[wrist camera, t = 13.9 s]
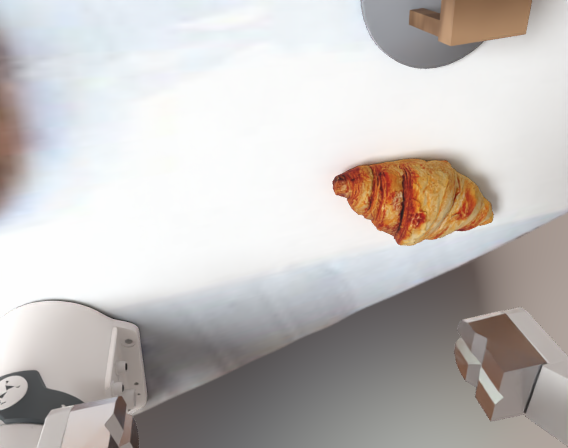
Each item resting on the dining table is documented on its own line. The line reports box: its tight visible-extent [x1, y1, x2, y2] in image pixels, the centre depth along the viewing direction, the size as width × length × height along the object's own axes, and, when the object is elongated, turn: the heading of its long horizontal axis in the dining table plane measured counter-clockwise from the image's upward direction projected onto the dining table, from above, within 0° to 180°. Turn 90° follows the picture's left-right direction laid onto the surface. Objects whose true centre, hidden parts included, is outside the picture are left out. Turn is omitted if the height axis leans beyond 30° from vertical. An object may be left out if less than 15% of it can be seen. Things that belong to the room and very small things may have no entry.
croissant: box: [333, 159, 494, 246], centre depth 48 cm, size 21×10×8 cm, turn 73°
